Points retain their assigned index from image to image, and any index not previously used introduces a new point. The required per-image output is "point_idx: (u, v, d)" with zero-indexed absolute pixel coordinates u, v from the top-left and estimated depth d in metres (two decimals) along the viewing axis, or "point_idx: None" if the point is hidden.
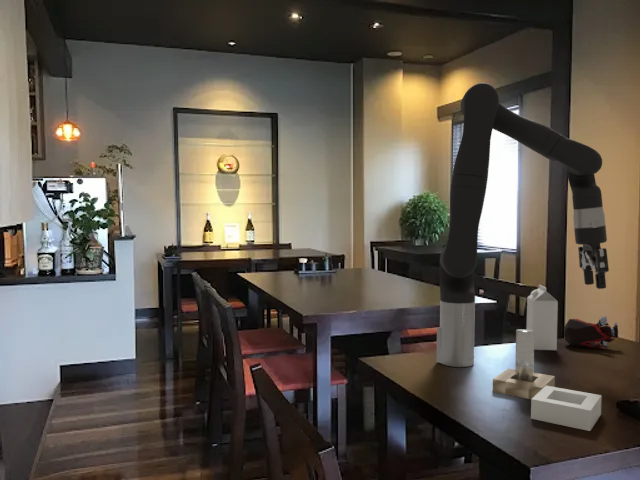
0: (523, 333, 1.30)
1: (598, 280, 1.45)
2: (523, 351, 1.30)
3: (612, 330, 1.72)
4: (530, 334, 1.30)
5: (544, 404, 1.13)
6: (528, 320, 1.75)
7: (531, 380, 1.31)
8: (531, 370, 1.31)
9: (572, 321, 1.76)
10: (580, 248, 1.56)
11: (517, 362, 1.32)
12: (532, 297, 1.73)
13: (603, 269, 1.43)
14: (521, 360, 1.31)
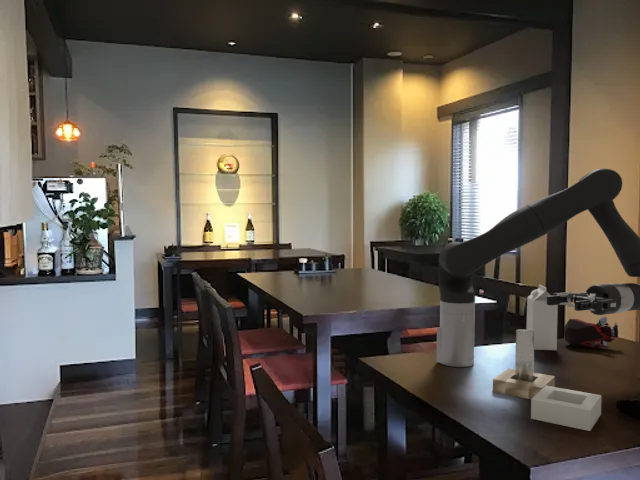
0: (523, 333, 1.30)
1: (585, 302, 1.32)
2: (523, 351, 1.30)
3: (612, 330, 1.72)
4: (530, 334, 1.30)
5: (544, 404, 1.13)
6: (528, 320, 1.75)
7: (531, 380, 1.31)
8: (531, 370, 1.31)
9: (572, 321, 1.76)
10: None
11: (517, 362, 1.32)
12: (532, 297, 1.73)
13: (602, 306, 1.32)
14: (521, 360, 1.31)
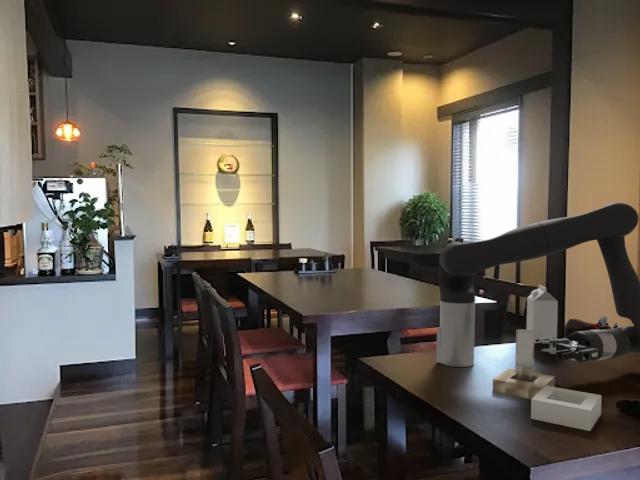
0: (523, 333, 1.30)
1: (566, 352, 1.31)
2: (523, 351, 1.30)
3: None
4: (530, 334, 1.30)
5: (544, 404, 1.13)
6: (528, 320, 1.75)
7: (531, 380, 1.31)
8: (531, 370, 1.31)
9: (572, 321, 1.76)
10: (554, 339, 1.44)
11: (517, 362, 1.32)
12: (532, 297, 1.73)
13: (583, 356, 1.30)
14: (521, 360, 1.31)
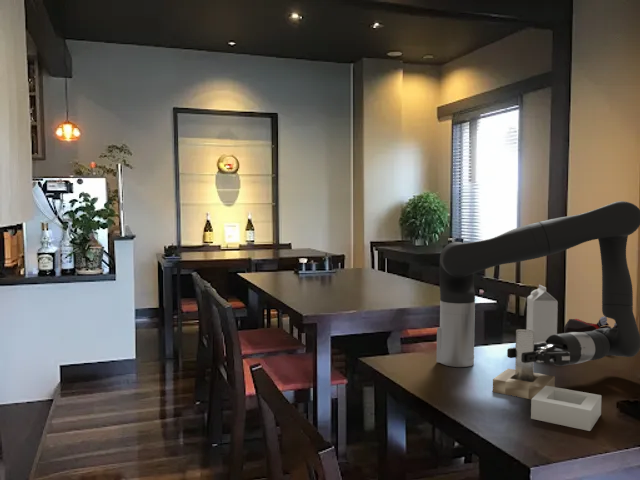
0: (523, 333, 1.30)
1: (532, 354, 1.29)
2: (523, 351, 1.30)
3: None
4: (530, 334, 1.30)
5: (544, 404, 1.13)
6: (528, 320, 1.75)
7: (531, 380, 1.31)
8: (531, 370, 1.31)
9: (572, 321, 1.76)
10: None
11: (517, 362, 1.32)
12: (532, 297, 1.73)
13: (549, 358, 1.28)
14: None
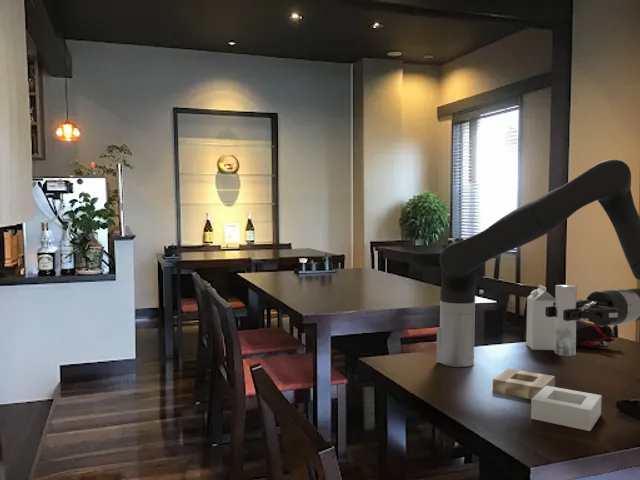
0: (564, 288, 1.15)
1: (575, 311, 1.14)
2: (565, 308, 1.15)
3: (612, 330, 1.72)
4: (572, 289, 1.15)
5: (544, 404, 1.13)
6: (528, 320, 1.75)
7: (574, 341, 1.16)
8: (574, 330, 1.16)
9: None
10: None
11: (557, 321, 1.17)
12: (532, 297, 1.73)
13: (594, 315, 1.13)
14: None
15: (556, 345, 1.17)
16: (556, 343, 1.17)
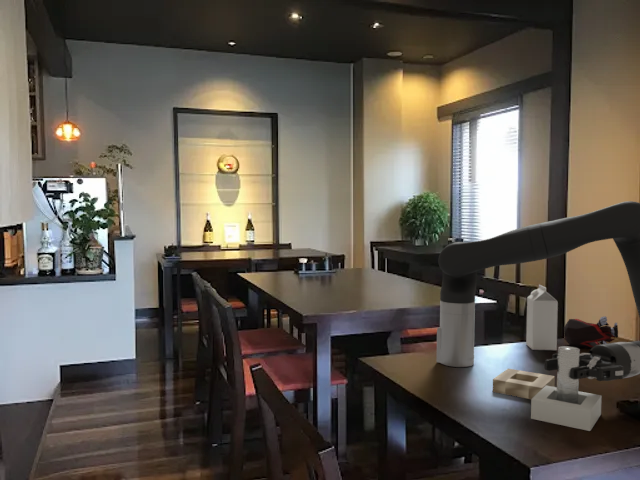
0: (567, 351, 1.14)
1: (582, 369, 1.12)
2: (567, 372, 1.14)
3: (612, 330, 1.72)
4: (575, 352, 1.13)
5: (544, 404, 1.13)
6: (528, 320, 1.75)
7: None
8: (576, 393, 1.14)
9: (572, 321, 1.76)
10: None
11: (559, 384, 1.15)
12: (532, 297, 1.73)
13: (602, 374, 1.11)
14: (565, 382, 1.14)
15: None
16: None
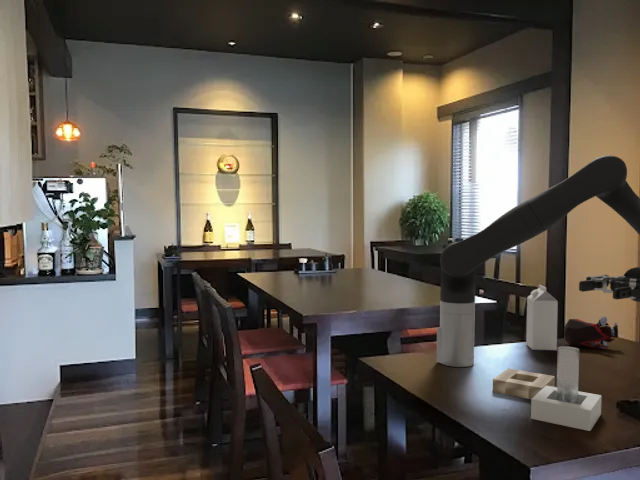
0: (567, 351, 1.14)
1: (625, 290, 1.15)
2: (567, 372, 1.14)
3: (612, 330, 1.72)
4: (575, 352, 1.13)
5: (544, 404, 1.13)
6: (528, 320, 1.75)
7: None
8: (576, 394, 1.14)
9: (572, 321, 1.76)
10: (608, 276, 1.27)
11: (559, 384, 1.15)
12: (532, 297, 1.73)
13: None
14: (564, 382, 1.14)
15: None
16: None
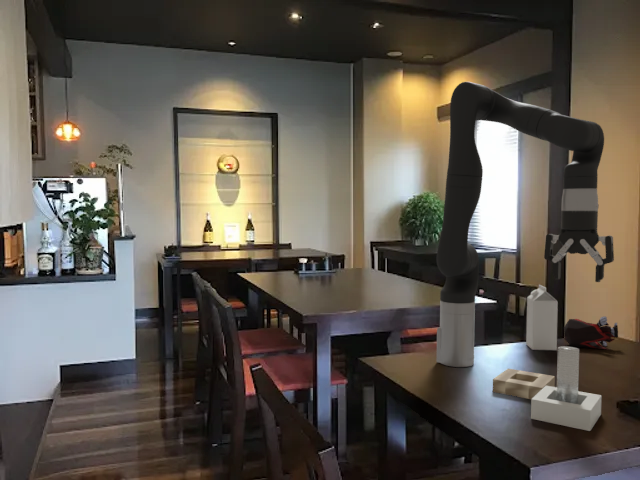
0: (567, 351, 1.14)
1: (600, 272, 1.26)
2: (567, 372, 1.14)
3: (612, 330, 1.72)
4: (575, 352, 1.13)
5: (544, 404, 1.13)
6: (528, 320, 1.75)
7: None
8: (576, 394, 1.14)
9: (572, 321, 1.76)
10: (551, 236, 1.31)
11: (559, 384, 1.15)
12: (532, 297, 1.73)
13: (612, 259, 1.25)
14: (564, 382, 1.14)
15: None
16: None
